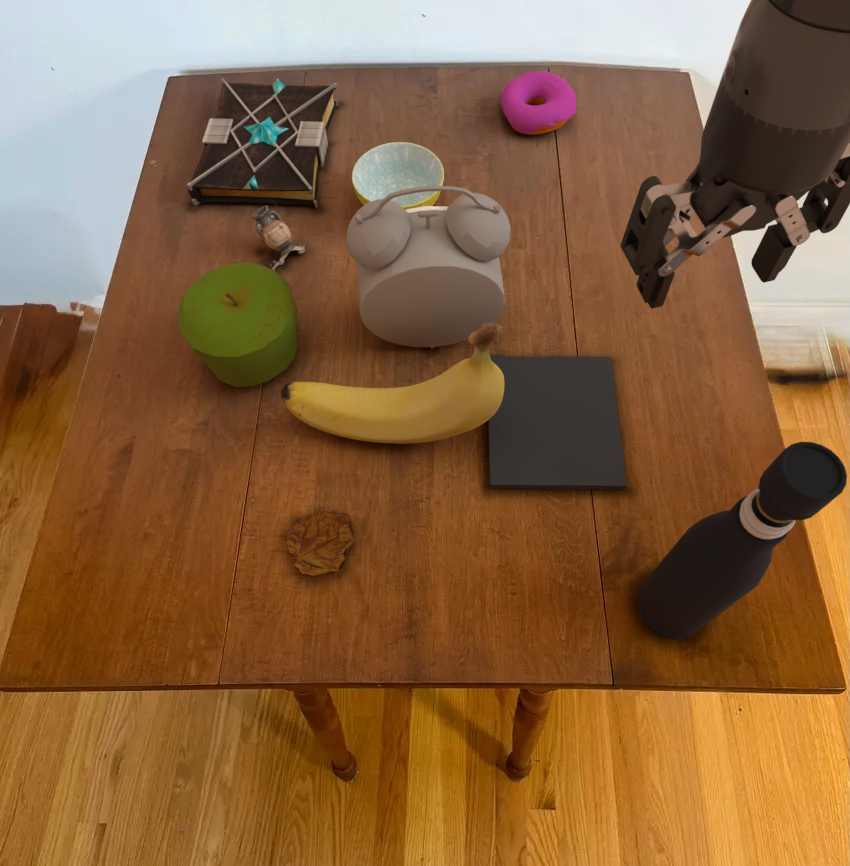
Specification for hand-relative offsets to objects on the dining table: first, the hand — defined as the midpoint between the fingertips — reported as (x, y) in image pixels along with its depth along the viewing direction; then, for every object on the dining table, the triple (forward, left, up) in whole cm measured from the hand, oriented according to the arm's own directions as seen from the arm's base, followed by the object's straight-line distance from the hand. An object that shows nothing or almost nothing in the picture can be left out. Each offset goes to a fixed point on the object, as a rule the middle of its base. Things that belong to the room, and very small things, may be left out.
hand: (706, 285), depth 52 cm
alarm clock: (+21, -17, -28) cm, 39 cm away
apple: (+41, -13, -28) cm, 51 cm away
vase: (+40, -29, -28) cm, 57 cm away
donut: (+6, -54, -28) cm, 61 cm away
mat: (+7, -4, -28) cm, 29 cm away
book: (+44, -47, -28) cm, 70 cm away
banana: (+24, -3, -28) cm, 37 cm away
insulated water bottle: (-3, +16, -28) cm, 32 cm away
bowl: (+25, -36, -28) cm, 52 cm away
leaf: (+31, +10, -28) cm, 43 cm away
